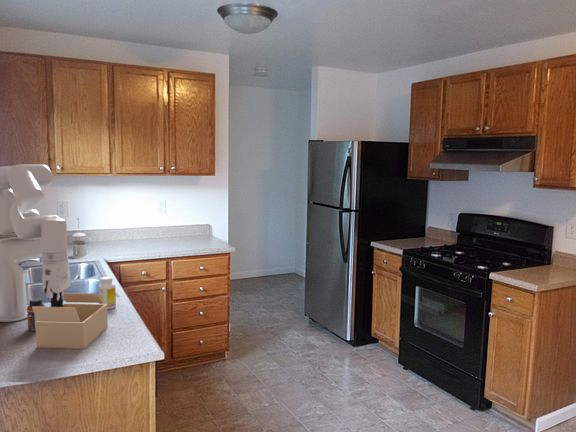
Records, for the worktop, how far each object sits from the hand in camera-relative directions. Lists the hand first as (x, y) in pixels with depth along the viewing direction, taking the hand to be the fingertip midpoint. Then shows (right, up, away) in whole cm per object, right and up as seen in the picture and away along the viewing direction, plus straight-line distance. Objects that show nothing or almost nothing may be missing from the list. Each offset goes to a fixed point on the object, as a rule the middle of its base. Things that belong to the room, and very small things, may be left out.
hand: (57, 311), depth 154 cm
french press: (-56, +5, +142) cm, 153 cm away
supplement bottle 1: (-17, -11, +20) cm, 29 cm away
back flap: (0, +1, +18) cm, 18 cm away
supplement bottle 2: (-1, -8, +46) cm, 46 cm away
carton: (0, -12, +13) cm, 17 cm away
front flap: (0, -1, 0) cm, 1 cm away
